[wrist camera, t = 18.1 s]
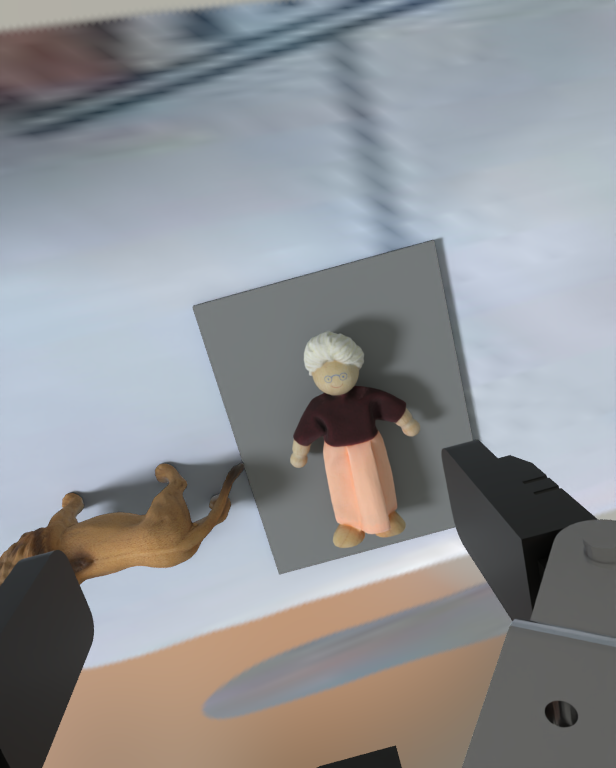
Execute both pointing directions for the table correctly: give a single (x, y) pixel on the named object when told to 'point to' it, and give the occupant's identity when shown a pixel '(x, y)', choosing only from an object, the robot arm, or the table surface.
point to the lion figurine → (125, 532)
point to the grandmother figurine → (351, 440)
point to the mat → (380, 371)
